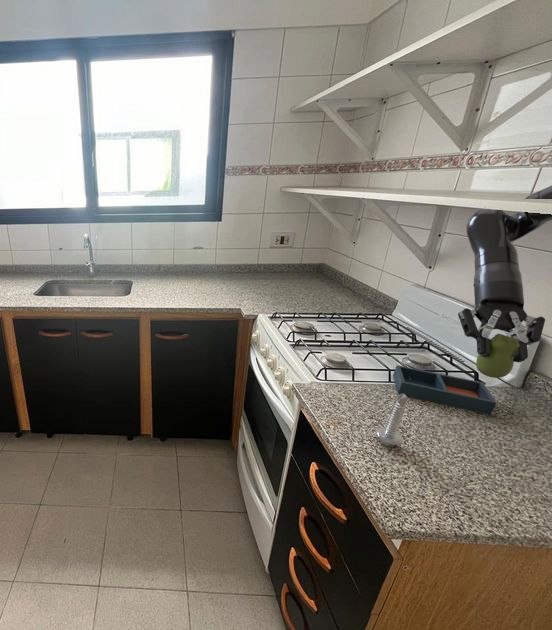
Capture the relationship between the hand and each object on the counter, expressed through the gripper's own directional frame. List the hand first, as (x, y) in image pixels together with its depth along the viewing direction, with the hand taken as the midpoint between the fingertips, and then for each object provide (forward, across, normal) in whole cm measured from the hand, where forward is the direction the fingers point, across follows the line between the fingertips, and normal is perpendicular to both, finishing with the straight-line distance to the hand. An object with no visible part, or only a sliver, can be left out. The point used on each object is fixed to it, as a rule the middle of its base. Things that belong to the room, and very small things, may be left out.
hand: (502, 358), depth 73 cm
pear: (+3, 0, +5) cm, 6 cm away
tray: (+4, -2, +21) cm, 22 cm away
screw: (+23, -19, +3) cm, 30 cm away
